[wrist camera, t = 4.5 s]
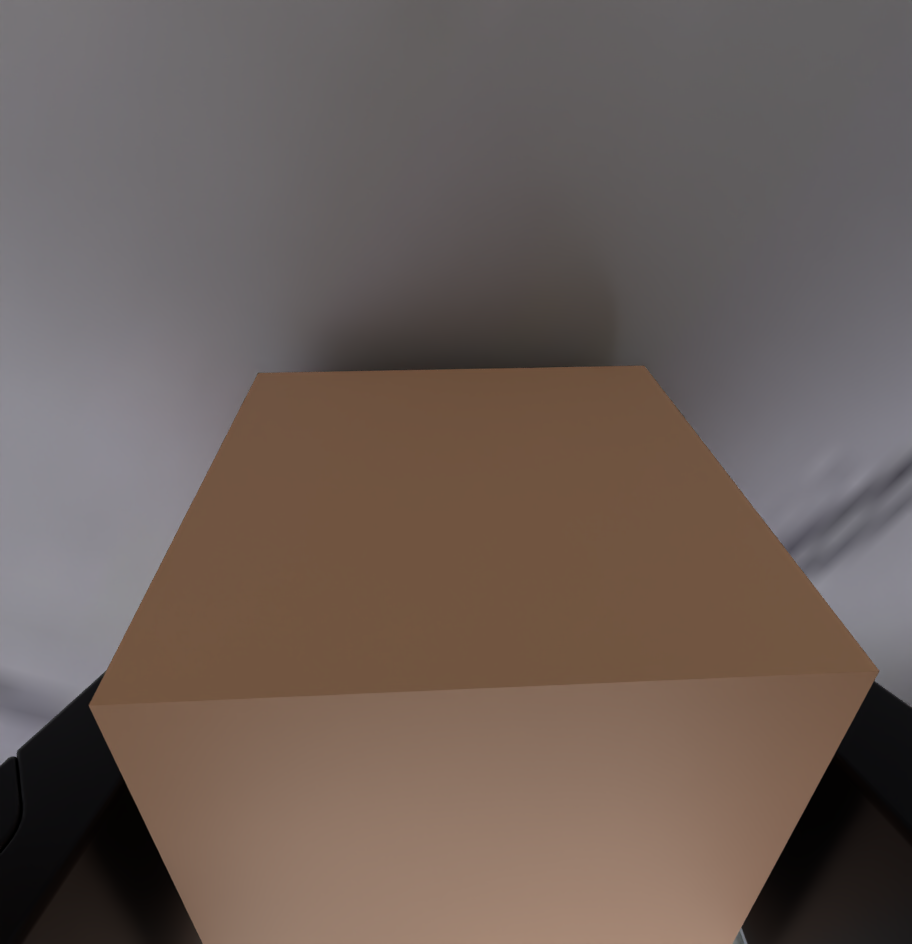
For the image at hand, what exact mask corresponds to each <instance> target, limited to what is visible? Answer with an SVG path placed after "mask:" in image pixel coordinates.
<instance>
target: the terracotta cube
mask: <svg viewBox="0 0 912 944" xmlns="http://www.w3.org/2000/svg"><path fill="white" fill-rule="evenodd" d="M878 673H879V670H878V669H877V667H876V666H875V665H874V663H873V662H872V661H871V659H870V658H869V657H868V656H867V654H866V653H865V652H864V650H863V649H862V648H861V647H860V645H859V644H858V643H857V641H856V640H855V639H854V637H853V636H852V635H851V634H850V632H849V631H848V630H847V628H846V627H845V626H844V624H843V623H842V622H841V621H840V619H839V618H838V617H837V615H836V614H835V613H834V611H833V610H832V609H831V608H830V606H829V605H828V604H827V602H826V601H825V600H824V598H823V597H822V596H821V595H820V593H819V592H818V591H817V589H816V588H815V587H814V585H813V584H812V583H811V582H810V580H809V579H808V578H807V576H806V575H805V574H804V572H803V571H802V570H801V569H800V567H799V566H798V565H797V563H796V562H795V561H794V559H793V558H792V557H791V556H790V554H789V553H788V552H787V550H786V549H785V548H784V546H783V545H782V544H781V543H780V541H779V540H778V539H777V537H776V536H775V535H774V534H773V532H772V531H771V530H770V528H769V527H768V526H767V524H766V523H765V522H764V521H763V519H762V518H761V517H760V515H759V514H758V513H757V511H756V510H755V509H754V508H753V506H752V505H751V504H750V502H749V501H748V500H747V498H746V497H745V496H744V495H743V493H742V492H741V491H740V489H739V488H738V487H737V485H736V484H735V483H734V482H733V480H732V479H731V478H730V476H729V475H728V474H727V472H726V471H725V470H724V469H723V467H722V466H721V465H720V463H719V462H718V461H717V459H716V458H715V457H714V456H713V454H712V453H711V452H710V450H709V449H708V448H707V446H706V445H705V444H704V443H703V441H702V440H701V439H700V437H699V436H698V435H697V433H696V432H695V431H694V430H693V428H692V427H691V426H690V424H689V423H688V422H687V421H686V419H685V418H684V417H683V415H682V414H681V413H680V411H679V410H678V409H677V408H676V406H675V405H674V404H673V402H672V401H671V400H670V398H669V397H668V396H667V395H666V393H665V392H664V391H663V389H662V388H661V387H660V385H659V384H658V383H657V382H656V380H655V379H654V378H653V376H652V375H651V374H650V372H649V371H648V370H647V369H646V367H645V366H597V367H545V368H493V369H440V370H388V371H336V372H284V373H258V374H257V376H256V378H255V380H254V382H253V384H252V386H251V388H250V390H249V392H248V394H247V396H246V398H245V400H244V402H243V404H242V406H241V408H240V410H239V412H238V414H237V415H236V417H235V419H234V421H233V423H232V425H231V427H230V429H229V431H228V433H227V435H226V437H225V439H224V441H223V443H222V445H221V447H220V449H219V451H218V453H217V455H216V457H215V459H214V461H213V463H212V465H211V467H210V468H209V470H208V472H207V474H206V476H205V478H204V480H203V482H202V484H201V486H200V488H199V490H198V492H197V494H196V496H195V498H194V500H193V502H192V504H191V506H190V508H189V510H188V512H187V514H186V516H185V518H184V520H183V521H182V523H181V525H180V527H179V529H178V531H177V533H176V535H175V537H174V539H173V541H172V543H171V545H170V547H169V549H168V551H167V553H166V555H165V557H164V559H163V561H162V563H161V565H160V567H159V569H158V571H157V573H156V574H155V576H154V578H153V580H152V582H151V584H150V586H149V588H148V590H147V592H146V594H145V596H144V598H143V600H142V602H141V604H140V606H139V608H138V610H137V612H136V614H135V616H134V618H133V620H132V622H131V624H130V626H129V627H128V629H127V631H126V633H125V635H124V637H123V639H122V641H121V643H120V645H119V647H118V649H117V651H116V653H115V655H114V657H113V659H112V661H111V663H110V665H109V667H108V669H107V671H106V673H105V675H104V677H103V679H102V680H101V682H100V684H99V686H98V688H97V690H96V692H95V694H94V696H93V698H92V700H91V702H90V704H89V707H90V709H91V712H92V714H93V716H94V718H95V720H96V722H97V724H98V726H99V728H100V730H101V732H102V734H103V737H104V739H105V741H106V743H107V745H108V747H109V749H110V751H111V753H112V755H113V757H114V760H115V762H116V764H117V766H118V768H119V770H120V772H121V774H122V776H123V778H124V780H125V783H126V785H127V787H128V789H129V791H130V793H131V795H132V797H133V799H134V801H135V803H136V805H137V808H138V810H139V812H140V814H141V816H142V818H143V820H144V822H145V824H146V826H147V828H148V831H149V833H150V835H151V837H152V839H153V841H154V843H155V845H156V847H157V849H158V851H159V853H160V856H161V858H162V860H163V862H164V864H165V866H166V868H167V870H168V872H169V874H170V876H171V879H172V881H173V883H174V885H175V887H176V889H177V891H178V893H179V895H180V897H181V899H182V901H183V904H184V906H185V908H186V910H187V912H188V914H189V916H190V918H191V920H192V922H193V924H194V927H195V929H196V931H197V933H198V935H199V937H200V939H201V941H202V943H203V944H733V942H734V940H735V938H736V936H737V934H738V932H739V931H740V929H741V927H742V925H743V923H744V921H745V919H746V918H747V916H748V914H749V912H750V910H751V908H752V906H753V905H754V903H755V901H756V899H757V897H758V895H759V893H760V892H761V890H762V888H763V886H764V884H765V882H766V880H767V879H768V877H769V875H770V873H771V871H772V869H773V867H774V866H775V864H776V862H777V860H778V858H779V856H780V854H781V853H782V851H783V849H784V847H785V845H786V843H787V841H788V840H789V838H790V836H791V834H792V832H793V830H794V828H795V827H796V825H797V823H798V821H799V819H800V817H801V816H802V814H803V812H804V810H805V808H806V806H807V804H808V803H809V801H810V799H811V797H812V795H813V793H814V791H815V790H816V788H817V786H818V784H819V782H820V780H821V778H822V777H823V775H824V773H825V771H826V769H827V767H828V765H829V764H830V762H831V760H832V758H833V756H834V754H835V752H836V751H837V749H838V747H839V745H840V743H841V741H842V739H843V738H844V736H845V734H846V732H847V730H848V728H849V726H850V725H851V723H852V721H853V719H854V717H855V715H856V713H857V712H858V710H859V708H860V706H861V704H862V702H863V700H864V699H865V697H866V695H867V693H868V691H869V689H870V687H871V686H872V684H873V682H874V680H875V678H876V676H877V674H878Z"/></svg>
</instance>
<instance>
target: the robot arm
mask: <svg viewBox="0 0 912 944" xmlns="http://www.w3.org/2000/svg"><path fill="white" fill-rule="evenodd" d="M105 673H106V671H105V672H104V673H103V674H102V675H101V676H100V677H99V678H98V679H97V680H95V681H94V682H93V683H92V684H91V685H90V686H89V687H88V688H87V689H85V690H84V691H83V692H82V693H81V694H80V695H79V696H78V697H76V698H75V699H74V700H73V701H72V702H71V703H70V704H69V705H68V706H66V707H65V708H64V709H63V710H62V711H61V712H60V713H59V714H58V715H56V716H55V717H54V718H53V719H52V720H51V721H50V722H49V723H48V724H46V725H45V726H44V727H43V728H42V729H41V730H40V731H39V732H38V733H36V734H35V735H34V736H33V737H32V738H31V739H30V740H29V741H28V742H26V743H25V744H24V745H23V746H22V747H21V748H20V749H19V750H18V751H17V757H14V756H13V757H10V758H8V759H7V760H6V761H5V762H4V763H3V764H2V765H0V944H203V943H202V941H201V939H200V937H199V935H198V933H197V931H196V929H195V927H194V924H193V922H192V920H191V918H190V916H189V914H188V912H187V910H186V908H185V906H184V904H183V901H182V899H181V897H180V895H179V893H178V891H177V889H176V887H175V885H174V883H173V881H172V879H171V876H170V874H169V872H168V870H167V868H166V866H165V864H164V862H163V860H162V858H161V856H160V853H159V851H158V849H157V847H156V845H155V843H154V841H153V839H152V837H151V835H150V833H149V831H148V828H147V826H146V824H145V822H144V820H143V818H142V816H141V814H140V812H139V810H138V808H137V805H136V803H135V801H134V799H133V797H132V795H131V793H130V791H129V789H128V787H127V785H126V783H125V780H124V778H123V776H122V774H121V772H120V770H119V768H118V766H117V764H116V762H115V760H114V757H113V755H112V753H111V751H110V749H109V747H108V745H107V743H106V741H105V739H104V737H103V734H102V732H101V730H100V728H99V726H98V724H97V722H96V720H95V718H94V716H93V714H92V712H91V709H90V707H89V704H90V702H91V700H92V698H93V696H94V694H95V692H96V690H97V688H98V686H99V684H100V682H101V680H102V679H103V677H104V675H105ZM741 928H742V931H743V934H744V936H745V939H746V942H747V944H912V707H910V706H909V705H907V704H906V703H905V702H903V701H902V700H900V699H899V698H897V697H896V696H895V695H893V694H892V693H890V692H889V691H888V690H886V689H885V688H883V687H882V686H880V685H879V684H878V683H876V682H875V681H874V682H873V684H872V686H871V687H870V689H869V691H868V693H867V695H866V697H865V699H864V700H863V702H862V704H861V706H860V708H859V710H858V712H857V713H856V715H855V717H854V719H853V721H852V723H851V725H850V726H849V728H848V730H847V732H846V734H845V736H844V738H843V739H842V741H841V743H840V745H839V747H838V749H837V751H836V752H835V754H834V756H833V758H832V760H831V762H830V764H829V765H828V767H827V769H826V771H825V773H824V775H823V777H822V778H821V780H820V782H819V784H818V786H817V788H816V790H815V791H814V793H813V795H812V797H811V799H810V801H809V803H808V804H807V806H806V808H805V810H804V812H803V814H802V816H801V817H800V819H799V821H798V823H797V825H796V827H795V828H794V830H793V832H792V834H791V836H790V838H789V840H788V841H787V843H786V845H785V847H784V849H783V851H782V853H781V854H780V856H779V858H778V860H777V862H776V864H775V866H774V867H773V869H772V871H771V873H770V875H769V877H768V879H767V880H766V882H765V884H764V886H763V888H762V890H761V892H760V893H759V895H758V897H757V899H756V901H755V903H754V905H753V906H752V908H751V910H750V912H749V914H748V916H747V918H746V919H745V921H744V923H743V925H742V927H741Z"/></svg>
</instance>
